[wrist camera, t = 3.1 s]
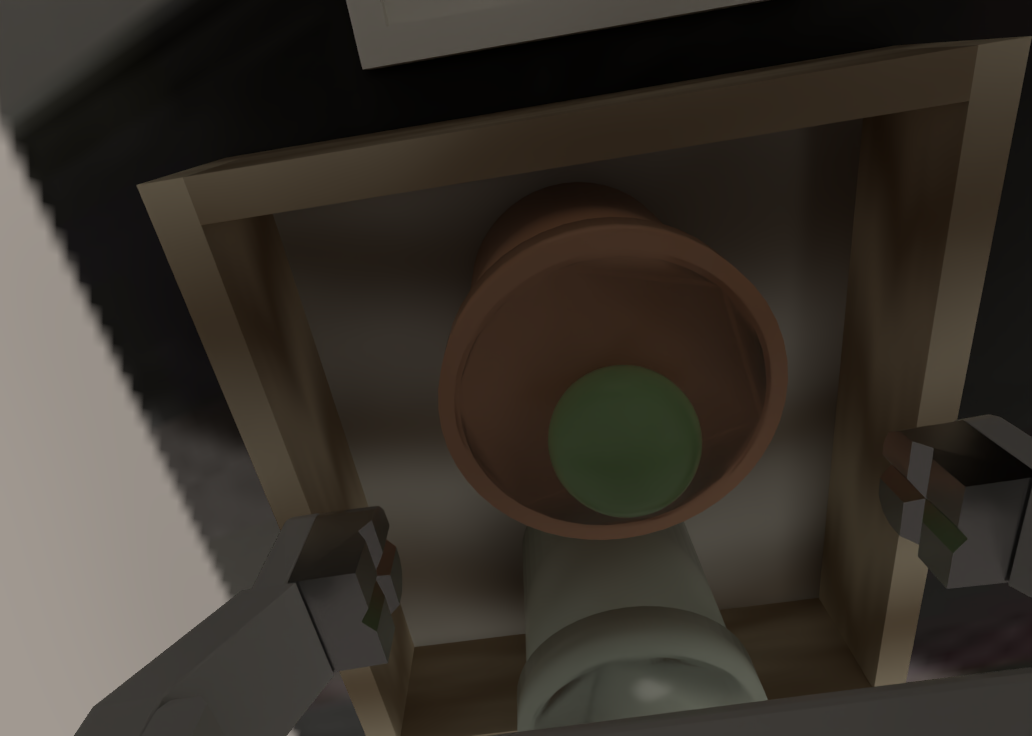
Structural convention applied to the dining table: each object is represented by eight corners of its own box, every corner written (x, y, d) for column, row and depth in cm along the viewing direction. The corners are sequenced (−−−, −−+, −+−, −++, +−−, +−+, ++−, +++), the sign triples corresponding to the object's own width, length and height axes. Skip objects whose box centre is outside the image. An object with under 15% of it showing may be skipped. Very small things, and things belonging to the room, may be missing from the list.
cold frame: (226, 157, 17) (136, 185, 13) (895, 45, 16) (1031, 36, 12) (398, 654, 25) (378, 764, 21) (835, 601, 24) (900, 706, 20)
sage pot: (500, 485, 21) (498, 663, 15) (692, 459, 21) (775, 630, 14) (527, 620, 24) (536, 818, 17) (696, 599, 23) (767, 793, 17)
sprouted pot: (440, 191, 17) (372, 319, 8) (683, 152, 16) (883, 241, 8) (483, 400, 19) (466, 658, 11) (689, 370, 19) (840, 613, 11)
